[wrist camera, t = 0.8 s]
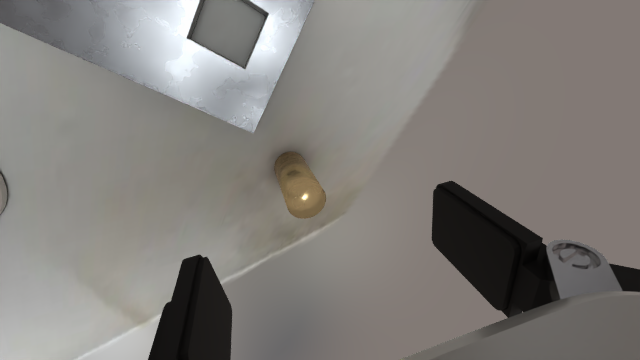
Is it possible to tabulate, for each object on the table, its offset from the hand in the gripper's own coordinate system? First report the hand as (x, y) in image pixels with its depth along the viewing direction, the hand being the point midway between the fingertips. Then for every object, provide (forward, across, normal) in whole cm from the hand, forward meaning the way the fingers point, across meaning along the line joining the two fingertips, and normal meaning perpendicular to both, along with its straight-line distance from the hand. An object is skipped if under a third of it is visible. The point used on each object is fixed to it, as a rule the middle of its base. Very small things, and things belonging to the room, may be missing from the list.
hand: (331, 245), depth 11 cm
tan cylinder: (+27, -1, +8) cm, 28 cm away
